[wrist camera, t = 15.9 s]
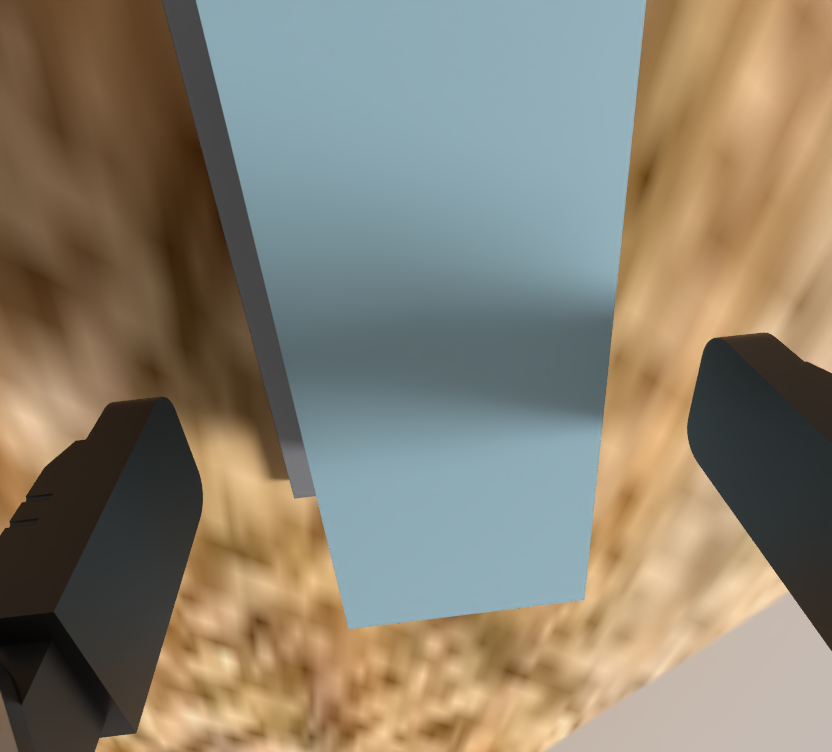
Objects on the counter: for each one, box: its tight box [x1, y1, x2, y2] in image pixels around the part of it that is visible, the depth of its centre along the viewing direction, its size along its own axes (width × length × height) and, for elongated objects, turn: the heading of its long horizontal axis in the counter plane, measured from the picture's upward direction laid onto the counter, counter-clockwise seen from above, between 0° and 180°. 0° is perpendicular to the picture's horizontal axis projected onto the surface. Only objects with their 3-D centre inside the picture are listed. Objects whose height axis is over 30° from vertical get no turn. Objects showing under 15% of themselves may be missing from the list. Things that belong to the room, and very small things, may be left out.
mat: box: [162, 0, 316, 498], centre depth 14 cm, size 17×9×1 cm, turn 5°
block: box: [196, 0, 646, 629], centre depth 12 cm, size 12×5×6 cm, turn 5°
